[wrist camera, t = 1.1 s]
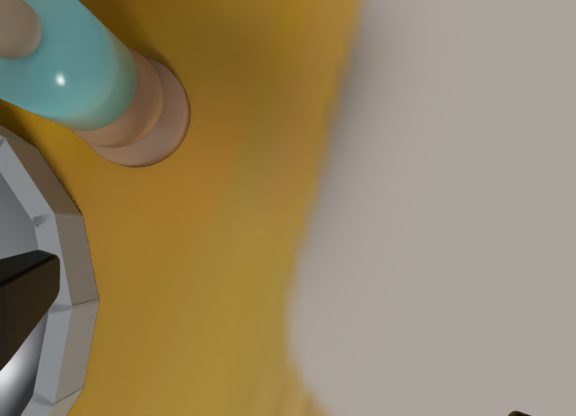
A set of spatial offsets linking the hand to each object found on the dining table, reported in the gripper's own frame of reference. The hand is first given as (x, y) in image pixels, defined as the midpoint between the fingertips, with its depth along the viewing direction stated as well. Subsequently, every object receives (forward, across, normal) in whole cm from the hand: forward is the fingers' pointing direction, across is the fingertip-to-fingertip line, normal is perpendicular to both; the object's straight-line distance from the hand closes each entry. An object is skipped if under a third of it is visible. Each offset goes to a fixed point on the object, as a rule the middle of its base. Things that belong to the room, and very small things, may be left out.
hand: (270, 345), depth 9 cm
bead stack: (+14, +10, +2) cm, 18 cm away
